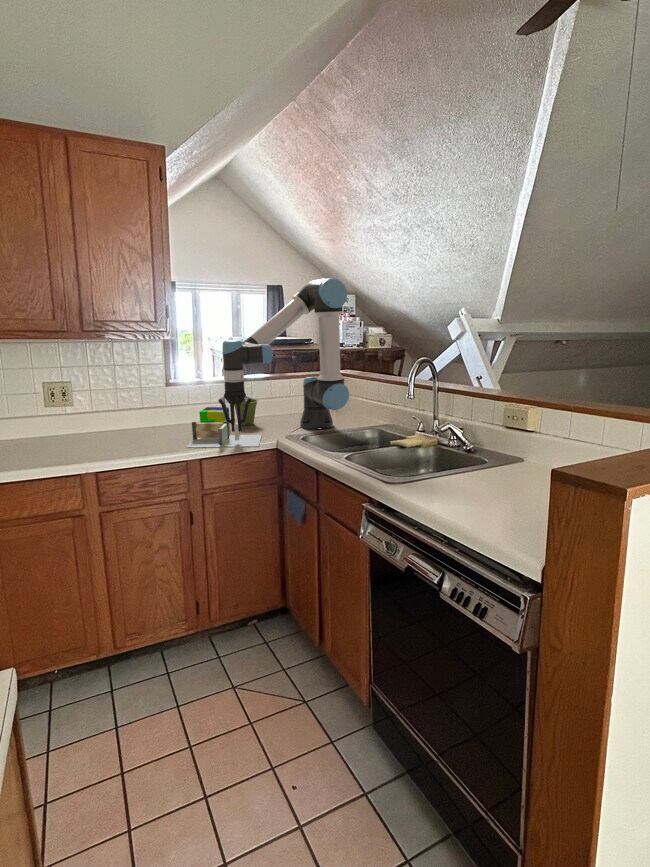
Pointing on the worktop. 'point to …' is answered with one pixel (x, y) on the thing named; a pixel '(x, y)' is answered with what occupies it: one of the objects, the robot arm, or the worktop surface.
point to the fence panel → (222, 434)
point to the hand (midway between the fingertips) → (237, 439)
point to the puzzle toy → (213, 415)
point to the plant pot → (250, 411)
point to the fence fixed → (207, 430)
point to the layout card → (226, 442)
